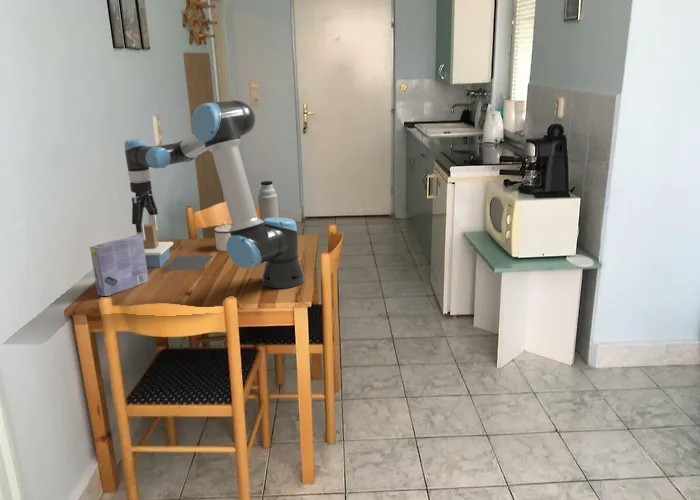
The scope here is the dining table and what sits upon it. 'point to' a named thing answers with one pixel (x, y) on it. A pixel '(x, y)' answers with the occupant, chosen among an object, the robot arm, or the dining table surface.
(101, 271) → the cake pan box
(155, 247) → the lid
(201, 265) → the mat
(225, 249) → the teacup with lid
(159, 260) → the blue open box
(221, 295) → the dining table surface
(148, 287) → the dining table surface
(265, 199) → the thermos bottle
